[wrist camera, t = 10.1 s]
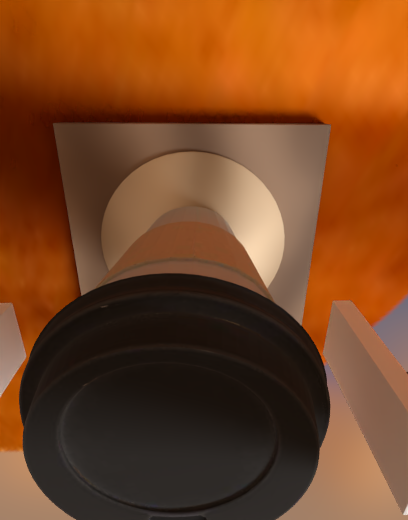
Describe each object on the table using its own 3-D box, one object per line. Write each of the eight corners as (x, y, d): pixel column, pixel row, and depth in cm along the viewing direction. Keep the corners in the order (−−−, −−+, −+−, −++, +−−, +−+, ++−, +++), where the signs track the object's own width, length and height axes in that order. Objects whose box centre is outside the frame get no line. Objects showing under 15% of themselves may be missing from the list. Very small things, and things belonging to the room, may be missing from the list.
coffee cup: (168, 327, 26) (126, 587, 12) (90, 220, 22) (-93, 415, 9) (286, 271, 24) (397, 506, 10) (221, 144, 20) (253, 240, 7)
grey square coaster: (92, 326, 27) (86, 338, 26) (60, 122, 21) (50, 123, 20) (296, 327, 27) (300, 339, 26) (324, 123, 21) (332, 125, 20)
